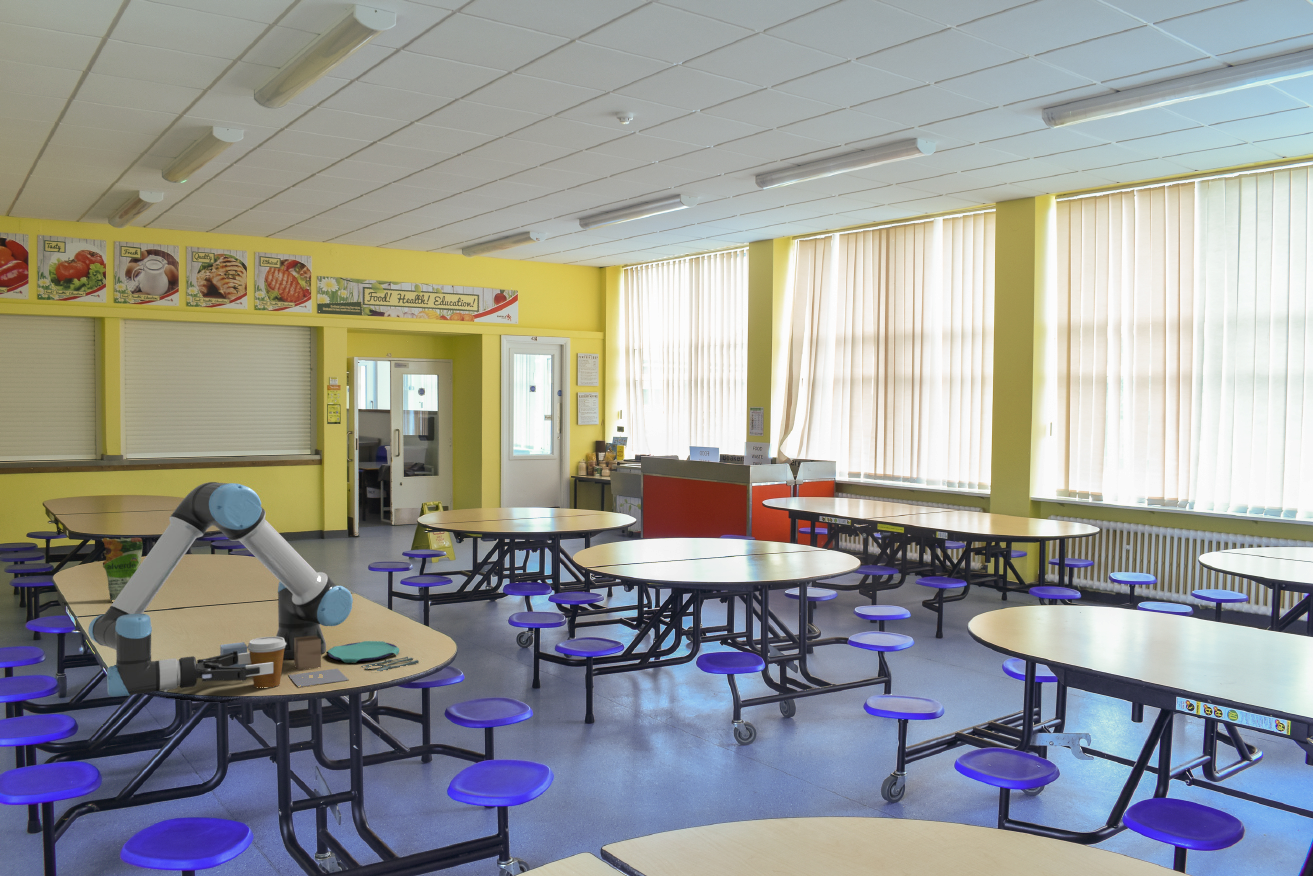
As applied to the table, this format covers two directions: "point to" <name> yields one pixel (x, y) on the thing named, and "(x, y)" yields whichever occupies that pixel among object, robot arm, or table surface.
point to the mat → (328, 677)
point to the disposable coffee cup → (267, 659)
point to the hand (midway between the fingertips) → (268, 661)
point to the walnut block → (307, 652)
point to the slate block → (234, 647)
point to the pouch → (121, 562)
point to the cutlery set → (368, 654)
